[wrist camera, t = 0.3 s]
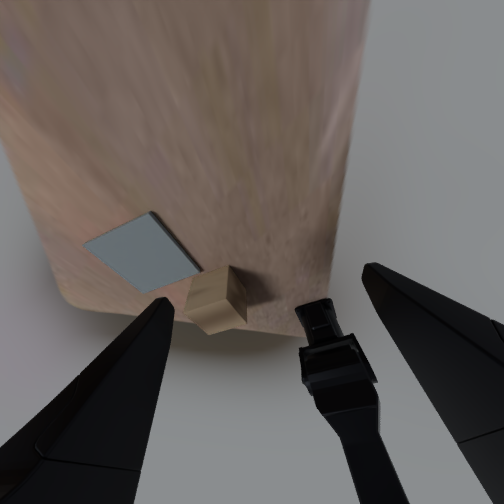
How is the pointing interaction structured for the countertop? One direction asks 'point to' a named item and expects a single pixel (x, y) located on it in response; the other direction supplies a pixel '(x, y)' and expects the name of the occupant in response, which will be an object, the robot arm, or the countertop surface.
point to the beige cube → (217, 301)
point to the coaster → (143, 253)
